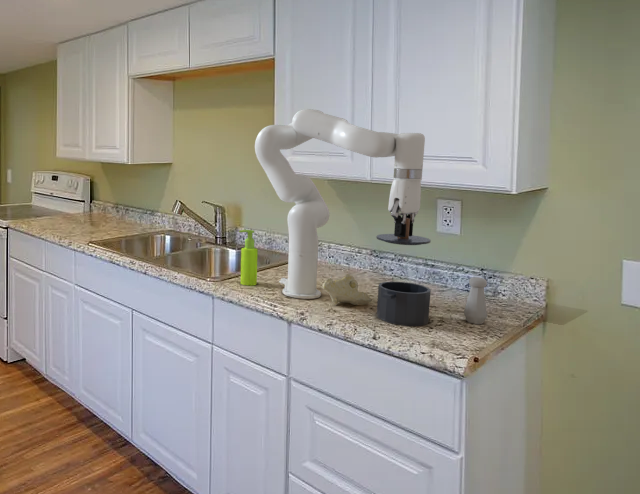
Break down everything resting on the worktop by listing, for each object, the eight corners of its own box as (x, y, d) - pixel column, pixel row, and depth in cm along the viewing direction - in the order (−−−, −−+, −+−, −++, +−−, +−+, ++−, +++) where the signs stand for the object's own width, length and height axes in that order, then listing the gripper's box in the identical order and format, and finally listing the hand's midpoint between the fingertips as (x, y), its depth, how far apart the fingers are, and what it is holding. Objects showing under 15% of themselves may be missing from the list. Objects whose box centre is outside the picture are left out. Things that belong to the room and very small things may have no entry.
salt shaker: (488, 321, 160) (492, 278, 158) (484, 326, 155) (488, 281, 154) (465, 317, 164) (468, 274, 162) (461, 322, 159) (464, 278, 158)
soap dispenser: (238, 280, 207) (240, 228, 205) (257, 282, 205) (259, 229, 202) (236, 284, 202) (238, 230, 199) (255, 286, 199) (257, 231, 197)
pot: (362, 318, 163) (364, 287, 161) (396, 307, 174) (398, 278, 172) (408, 331, 152) (410, 297, 150) (441, 318, 163) (443, 287, 161)
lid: (366, 240, 167) (368, 217, 166) (392, 236, 175) (394, 213, 175) (414, 248, 155) (416, 223, 154) (439, 243, 164) (441, 219, 163)
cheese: (361, 304, 183) (325, 273, 187) (376, 292, 179) (339, 261, 182) (347, 329, 173) (309, 296, 176) (363, 317, 168) (323, 283, 171)
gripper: (409, 173, 170) (405, 232, 173) (380, 175, 161) (376, 236, 164) (434, 174, 164) (429, 235, 167) (405, 176, 155) (400, 240, 158)
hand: (403, 235), depth 165 cm, fingers closed on lid, 3 cm apart
